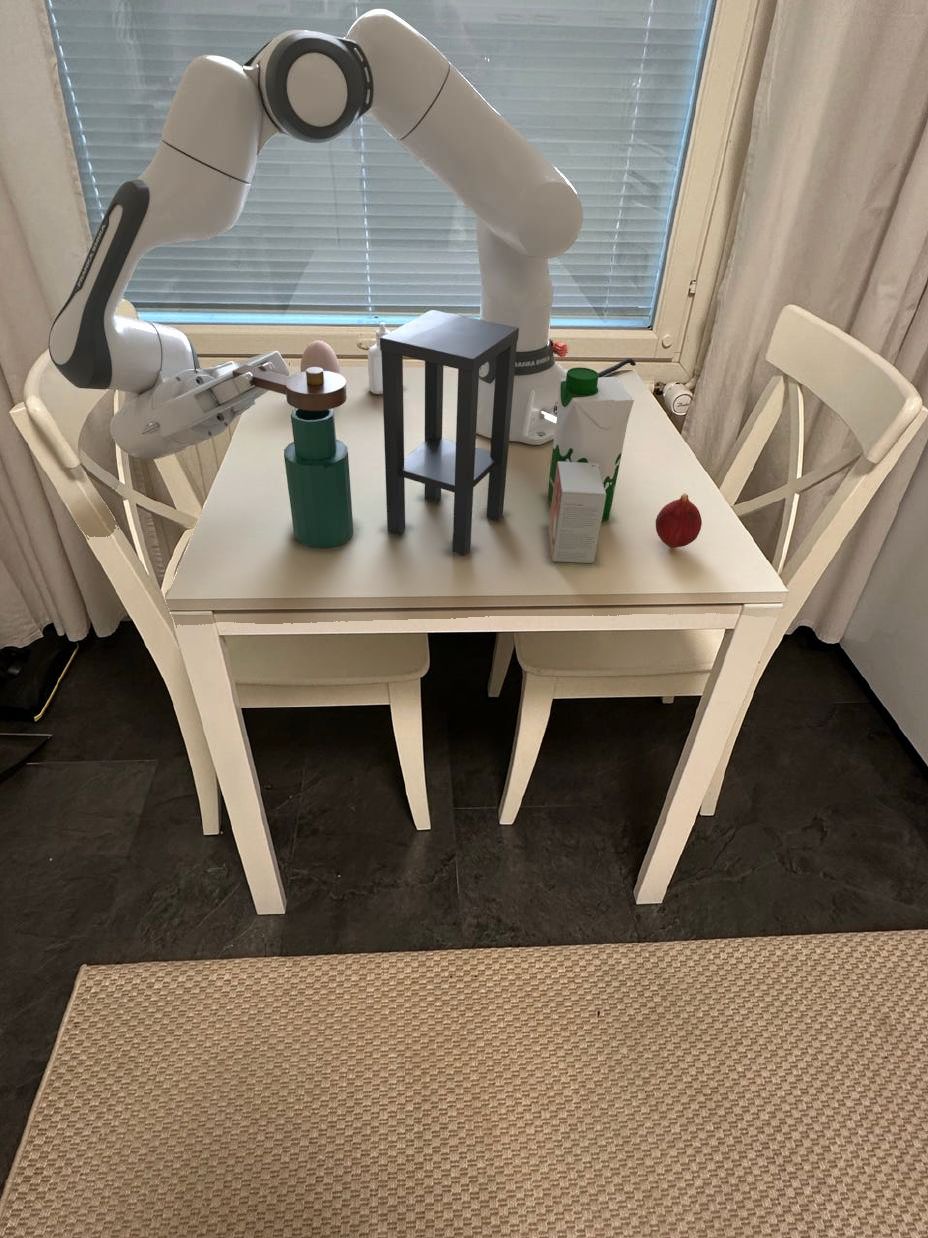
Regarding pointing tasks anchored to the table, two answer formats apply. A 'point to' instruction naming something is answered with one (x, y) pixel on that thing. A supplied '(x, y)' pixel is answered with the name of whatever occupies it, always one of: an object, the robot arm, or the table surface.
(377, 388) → the white tall narrow container
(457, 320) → the stand
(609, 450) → the milk carton
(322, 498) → the bottle
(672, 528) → the onion
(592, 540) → the small box
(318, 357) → the egg
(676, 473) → the table surface
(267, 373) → the lid
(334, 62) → the robot arm
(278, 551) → the table surface
